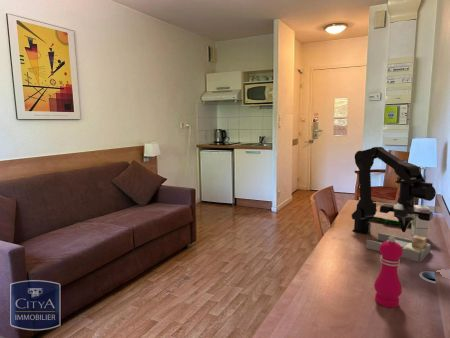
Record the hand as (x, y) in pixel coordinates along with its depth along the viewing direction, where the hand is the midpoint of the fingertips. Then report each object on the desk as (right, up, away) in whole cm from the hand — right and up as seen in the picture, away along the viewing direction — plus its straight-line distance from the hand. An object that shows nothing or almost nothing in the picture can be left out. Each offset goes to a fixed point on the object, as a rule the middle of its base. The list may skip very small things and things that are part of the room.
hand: (403, 231), depth 136 cm
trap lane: (-3, -7, 0) cm, 8 cm away
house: (+20, -2, +46) cm, 50 cm away
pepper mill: (-27, -13, -40) cm, 50 cm away
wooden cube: (+4, -5, -3) cm, 8 cm away
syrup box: (+16, -6, +16) cm, 23 cm away
